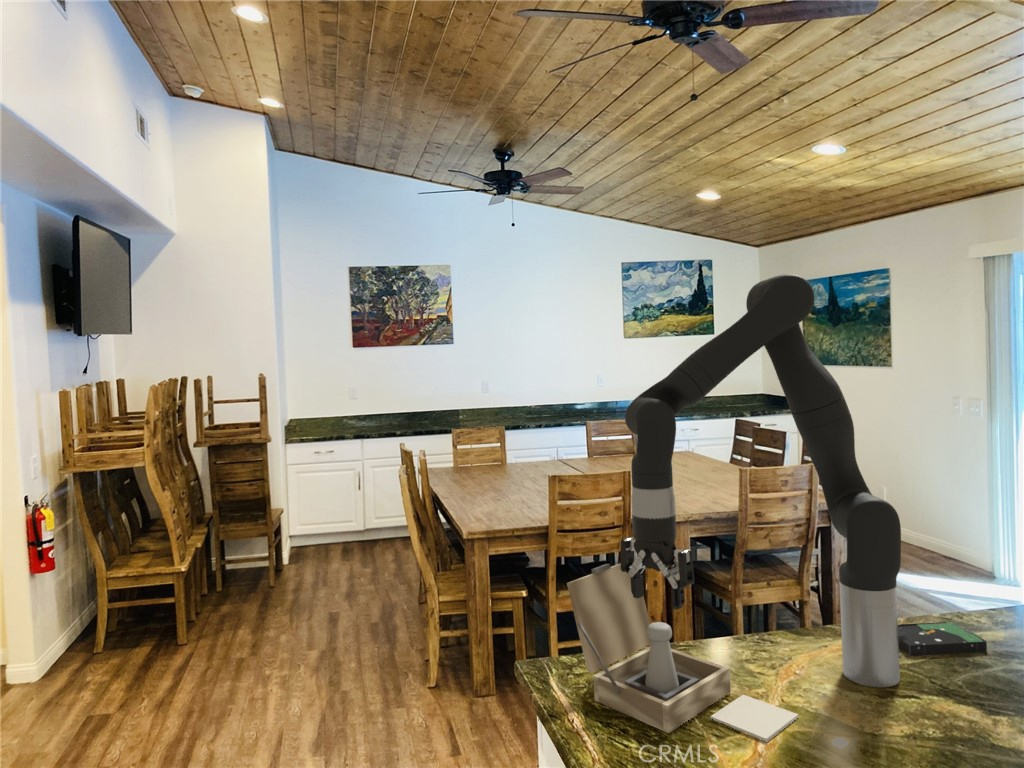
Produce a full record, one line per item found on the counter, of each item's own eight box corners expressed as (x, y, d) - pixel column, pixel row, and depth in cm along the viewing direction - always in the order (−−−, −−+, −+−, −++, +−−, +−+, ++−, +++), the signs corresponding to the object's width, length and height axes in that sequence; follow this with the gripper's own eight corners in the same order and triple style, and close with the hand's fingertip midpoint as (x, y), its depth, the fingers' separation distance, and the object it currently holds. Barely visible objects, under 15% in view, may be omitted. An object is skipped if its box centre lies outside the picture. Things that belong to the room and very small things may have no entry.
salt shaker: (682, 704, 123) (679, 630, 122) (649, 705, 123) (645, 632, 122) (675, 688, 129) (671, 617, 128) (643, 689, 129) (640, 619, 128)
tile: (743, 697, 124) (743, 694, 124) (798, 717, 116) (798, 714, 116) (710, 719, 117) (710, 716, 117) (766, 742, 110) (766, 738, 110)
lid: (655, 641, 138) (650, 641, 139) (633, 555, 140) (628, 555, 141) (592, 673, 126) (587, 673, 127) (569, 578, 128) (565, 578, 129)
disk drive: (910, 660, 136) (988, 654, 135) (910, 645, 135) (988, 640, 135) (882, 638, 146) (955, 633, 146) (882, 624, 146) (954, 619, 146)
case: (647, 662, 139) (644, 593, 139) (730, 693, 126) (727, 616, 125) (580, 698, 127) (576, 622, 126) (664, 736, 113) (660, 651, 112)
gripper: (700, 513, 121) (704, 606, 122) (635, 502, 132) (639, 588, 133) (674, 521, 116) (678, 618, 117) (608, 510, 127) (612, 598, 128)
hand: (657, 602), depth 125 cm, fingers open, 8 cm apart
